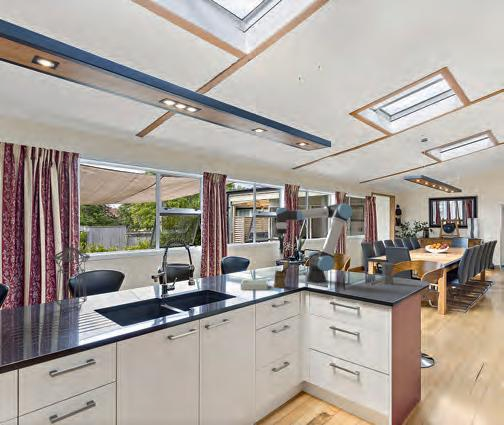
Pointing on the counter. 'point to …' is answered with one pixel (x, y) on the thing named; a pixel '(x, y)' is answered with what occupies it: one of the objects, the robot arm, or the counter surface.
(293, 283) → the counter surface
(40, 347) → the counter surface
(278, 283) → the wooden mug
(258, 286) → the mug holder
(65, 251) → the geometric lantern
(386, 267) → the coffeepot
